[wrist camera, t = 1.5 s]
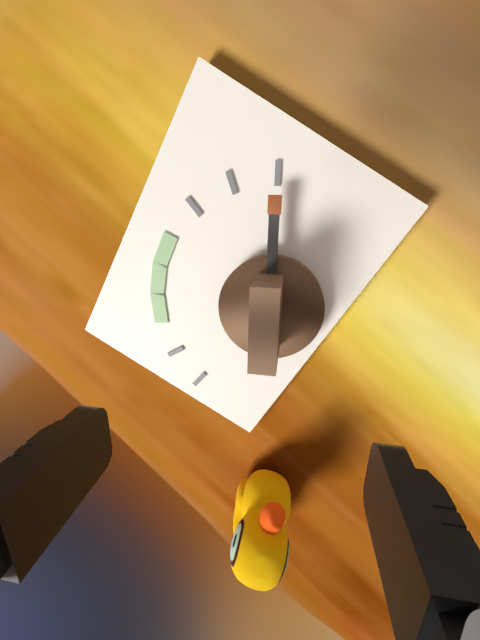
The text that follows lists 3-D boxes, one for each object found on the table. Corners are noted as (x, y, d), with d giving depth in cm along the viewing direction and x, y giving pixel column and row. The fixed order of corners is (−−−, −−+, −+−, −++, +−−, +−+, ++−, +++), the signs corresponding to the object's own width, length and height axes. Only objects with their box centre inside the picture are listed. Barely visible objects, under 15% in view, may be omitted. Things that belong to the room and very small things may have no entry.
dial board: (420, 206, 22) (429, 206, 20) (252, 422, 30) (249, 433, 28) (205, 67, 21) (197, 55, 20) (94, 324, 29) (83, 330, 28)
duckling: (256, 430, 30) (238, 525, 21) (309, 448, 30) (314, 554, 20) (227, 508, 34) (201, 617, 25) (273, 525, 34) (264, 643, 24)
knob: (318, 356, 25) (324, 398, 19) (222, 347, 26) (200, 385, 20) (335, 196, 21) (350, 188, 15) (221, 196, 22) (194, 188, 16)
